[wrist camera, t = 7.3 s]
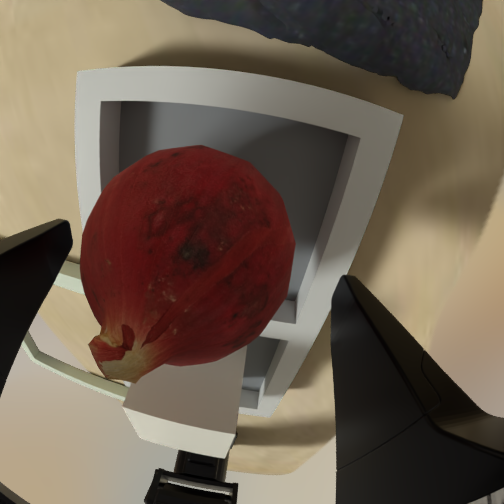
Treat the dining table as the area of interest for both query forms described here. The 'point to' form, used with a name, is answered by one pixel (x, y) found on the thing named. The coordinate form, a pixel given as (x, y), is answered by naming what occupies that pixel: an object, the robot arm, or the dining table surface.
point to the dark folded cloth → (365, 33)
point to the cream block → (189, 405)
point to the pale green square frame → (70, 281)
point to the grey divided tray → (266, 162)
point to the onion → (183, 261)
